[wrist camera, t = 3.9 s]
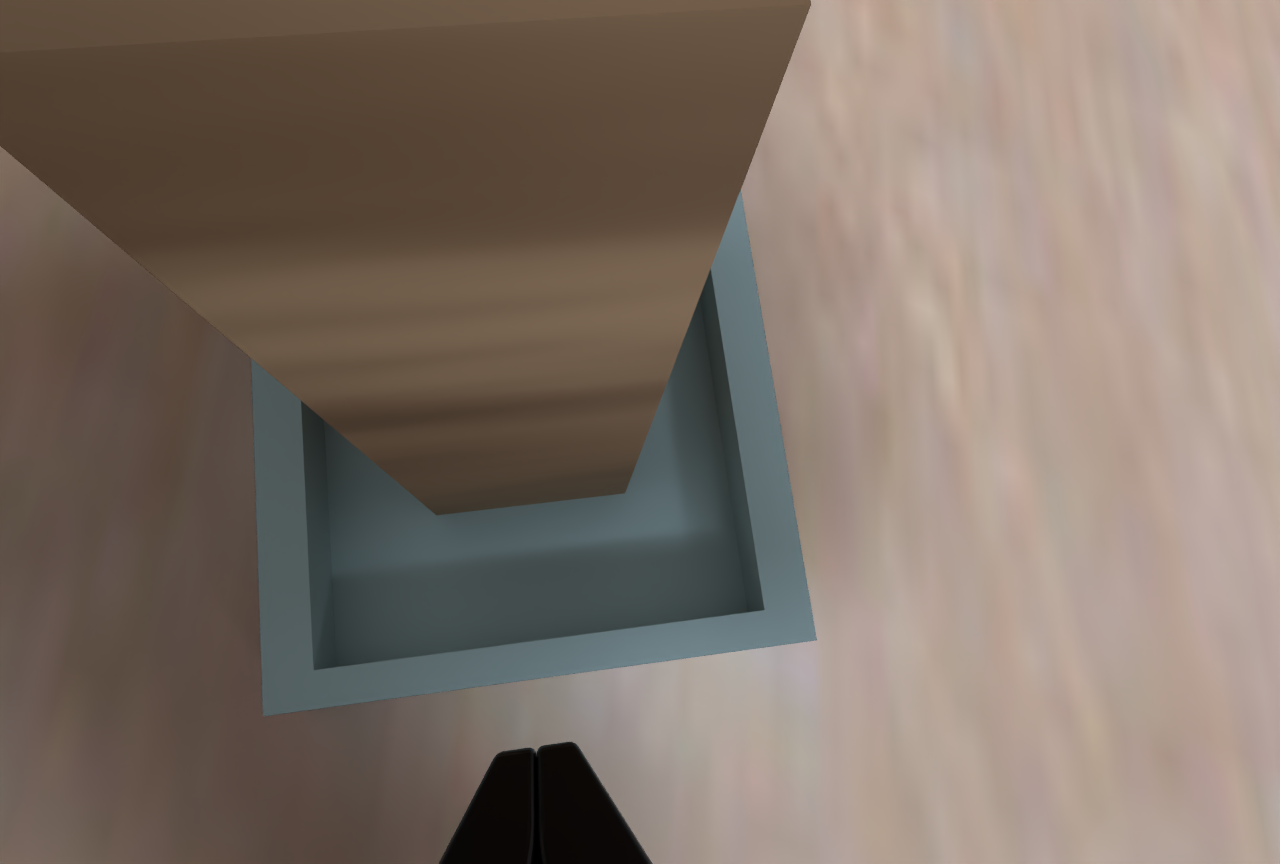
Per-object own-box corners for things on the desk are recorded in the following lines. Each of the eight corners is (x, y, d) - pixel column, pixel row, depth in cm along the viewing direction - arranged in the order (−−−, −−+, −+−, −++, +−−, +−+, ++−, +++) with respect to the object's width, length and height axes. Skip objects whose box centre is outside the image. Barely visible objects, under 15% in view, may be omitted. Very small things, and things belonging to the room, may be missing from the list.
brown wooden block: (625, 493, 16) (809, 3, 4) (436, 515, 16) (-105, 57, 3) (566, 31, 18) (552, -1299, 6) (398, 41, 18) (-13, -1355, 5)
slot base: (788, 639, 16) (846, 641, 13) (301, 705, 15) (222, 727, 12) (644, -243, 21) (659, -420, 17) (261, -233, 20) (195, -416, 16)
